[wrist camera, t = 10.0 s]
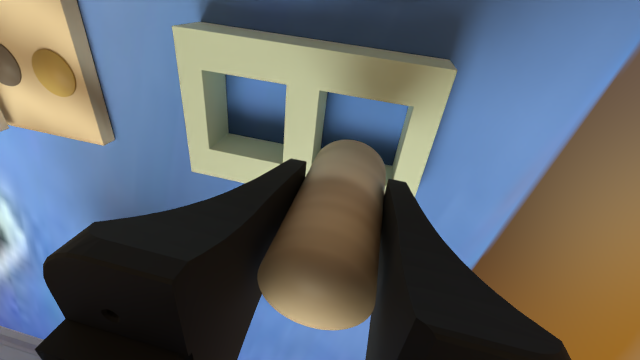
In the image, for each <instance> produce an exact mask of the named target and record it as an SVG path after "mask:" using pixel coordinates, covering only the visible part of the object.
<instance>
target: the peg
mask: <svg viewBox="0 0 640 360" xmlns="http://www.w3.org/2000/svg"><path fill="white" fill-rule="evenodd" d="M385 180H386V169H385V165H384V162H383V160H382V159H381V157H380V156H379V154H378V153H377V152H376V151H375V150H374V149H373V148H371V147H370V146H368V145H367V144H364V143H362V142H359V141H355V140H338V141H334V142H332V143H330V144H328V145H326V146H325V147H323V148H322V149H321V150H320V151H319V153H318V154H317V156H316V158H315V160H314V162H313V163H312V165H311V167H310V169H309V171H308V173H307V175H306V177H305V179H304V181H303V183H302V185H301V187H300V189H299V191H298V193H297V195H296V196H295V198H294V200H293V202H292V204H291V206H290V208H289V210H288V212H287V214H286V216H285V218H284V220H283V222H282V224H281V226H280V228H279V229H278V231H277V233H276V235H275V237H274V239H273V241H272V243H271V245H270V247H269V249H268V251H267V253H266V255H265V257H264V259H263V261H262V262H261V264H260V267H259V269H258V274H257V280H258V285H259V288H260V290H261V292H262V294H263V296H264V297H265V299H266V300H267V301H268V303H269V304H270V305H271V306H272V307H273V308H274V309H275V310H277V311H278V312H279V313H281V314H282V315H284V316H285V317H287V318H289V319H290V320H292V321H295V322H297V323H299V324H302V325H305V326H308V327H311V328H316V329H322V330H342V329H348V328H351V327H354V326H357V325H359V324H360V323H362V322H364V321H365V320H366V319H367V318H368V317H369V316H370V315H371V313H372V312H373V310H374V307H375V301H376V289H377V277H378V265H379V253H380V240H381V228H382V216H383V204H384V192H385Z"/></svg>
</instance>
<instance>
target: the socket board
mask: <svg viewBox="0 0 640 360" xmlns="http://www.w3.org/2000/svg"><path fill="white" fill-rule="evenodd" d="M172 29H173V37H174V44H175V51H176V59H177V66H178V73H179V81H180V88H181V95H182V103H183V110H184V117H185V125H186V132H187V139H188V147H189V154H190V162H191V169H192V172H197V173H201V174H206V175H210V176H215V177H219V178H224V179H228V180H233V181H237V182H242V183H247V182H249V181H251V180H253V179H256V178H257V177H259V176H261V175H263V174H265V173H266V172H268V171H270V170H272V169H273V168H275V167H277V166H278V165H280V164H282V163H283V162H285V161H287V160H289V159H291V158H292V159H297V160H302V161H306V162H307V165H306V175H307V173H308V171H309V169H310V167H311V165H312V163H313V162H314V160H315V158H316V156H317V154H318V153H319V151H320V150H321V142H322V133H323V125H324V117H325V109H326V100H327V92H332V93H337V94H343V95H349V96H355V97H360V98H366V99H372V100H378V101H383V102H389V103H395V104H401V105H406V106H408V110H407V114H406V117H405V121H404V125H403V129H402V132H401V136H400V140H399V143H398V147H397V151H396V154H395V158H394V162H393V166H390V165H385V164H384V165H385V169H386V180H385V190H386V187H387V183H388V179H394V180H399V181H403V182H406V183H407V184H408V186H409V188H410V190H411V192H412V194H413V195H414V197H415V195H416V192H417V189H418V186H419V183H420V180H421V177H422V174H423V171H424V168H425V165H426V162H427V159H428V156H429V153H430V150H431V147H432V144H433V141H434V138H435V136H436V133H437V130H438V127H439V124H440V121H441V118H442V115H443V112H444V109H445V106H446V103H447V100H448V97H449V94H450V91H451V88H452V85H453V82H454V79H455V76H456V73H457V69H456V68H455V66H454V65H453V64H452V62H451V61H450V60H447V59H441V58H434V57H428V56H421V55H415V54H408V53H401V52H395V51H388V50H382V49H375V48H369V47H362V46H356V45H349V44H342V43H336V42H329V41H323V40H316V39H310V38H303V37H297V36H290V35H284V34H277V33H270V32H264V31H257V30H251V29H244V28H238V27H231V26H225V25H218V24H211V23H205V22H195V23H188V24H181V25H174V26H172ZM225 74H228V75H234V76H240V77H245V78H251V79H257V80H263V81H268V82H274V83H280V84H286V85H287V88H286V109H285V129H284V144H280V143H275V142H270V141H265V140H260V139H255V138H250V137H245V136H240V135H235V134H230V133H229V131H228V113H227V95H226V78H225ZM306 175H305V177H306ZM384 194H385V192H384Z"/></svg>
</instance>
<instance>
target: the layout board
mask: <svg viewBox="0 0 640 360" xmlns="http://www.w3.org/2000/svg"><path fill="white" fill-rule="evenodd" d="M0 110H1V112H2V114H3V116H4V118H5V120H6V123H7V125H11V126H16V127H21V128H25V129H30V130H34V131H39V132H44V133H48V134H53V135H57V136H62V137H66V138H71V139H76V140H80V141H85V142H89V143H94V144H99V145H103V146H104V145H106V144H108V143H110V142H112V141H114V140H115V138H114V134H113V131H112V127H111V123H110V120H109V116H108V113H107V109H106V105H105V102H104V98H103V94H102V91H101V87H100V83H99V80H98V76H97V73H96V69H95V65H94V62H93V58H92V54H91V51H90V47H89V44H88V40H87V36H86V33H85V29H84V25H83V22H82V18H81V14H80V11H79V7H78V4H77V0H0Z"/></svg>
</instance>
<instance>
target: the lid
mask: <svg viewBox="0 0 640 360" xmlns="http://www.w3.org/2000/svg"><path fill="white" fill-rule="evenodd" d="M6 129H9V127H8V125H7V123H6V120H5V118H4V116H3V114H2V112H1V110H0V131H3V130H6Z"/></svg>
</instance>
